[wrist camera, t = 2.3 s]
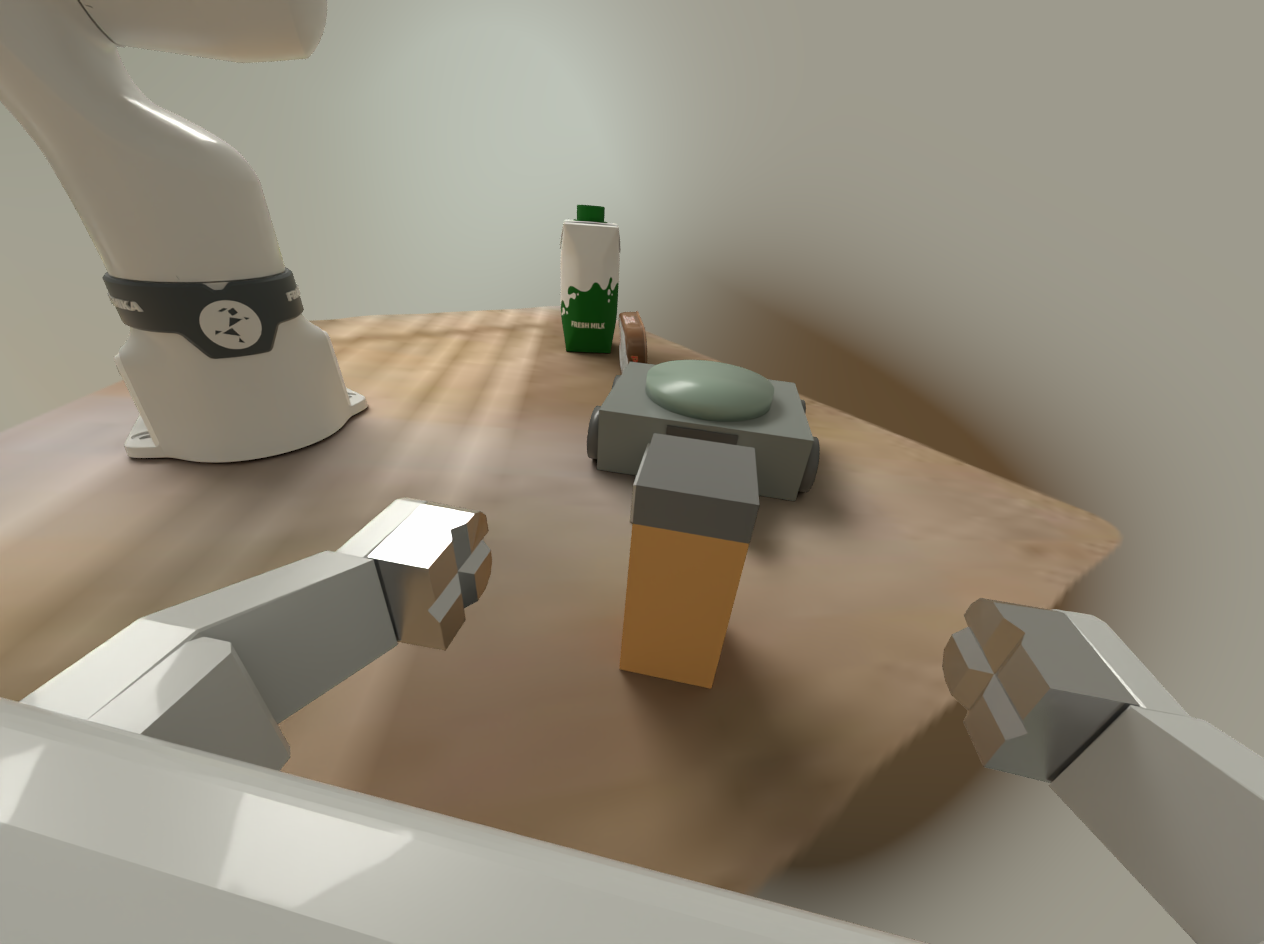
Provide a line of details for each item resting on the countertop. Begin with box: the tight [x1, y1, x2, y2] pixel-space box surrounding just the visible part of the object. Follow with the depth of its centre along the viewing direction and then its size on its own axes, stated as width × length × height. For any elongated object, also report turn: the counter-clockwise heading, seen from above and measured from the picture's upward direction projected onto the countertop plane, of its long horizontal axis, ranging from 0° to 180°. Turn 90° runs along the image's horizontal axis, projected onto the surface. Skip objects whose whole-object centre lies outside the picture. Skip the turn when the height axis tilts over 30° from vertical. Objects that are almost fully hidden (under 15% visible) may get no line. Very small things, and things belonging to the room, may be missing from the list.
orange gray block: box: [620, 433, 759, 689], centre depth 24 cm, size 5×5×12 cm
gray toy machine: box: [587, 360, 820, 522], centre depth 43 cm, size 21×20×8 cm
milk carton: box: [560, 205, 620, 353], centre depth 71 cm, size 9×9×20 cm
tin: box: [619, 311, 647, 375], centre depth 62 cm, size 15×3×8 cm, turn 5°
